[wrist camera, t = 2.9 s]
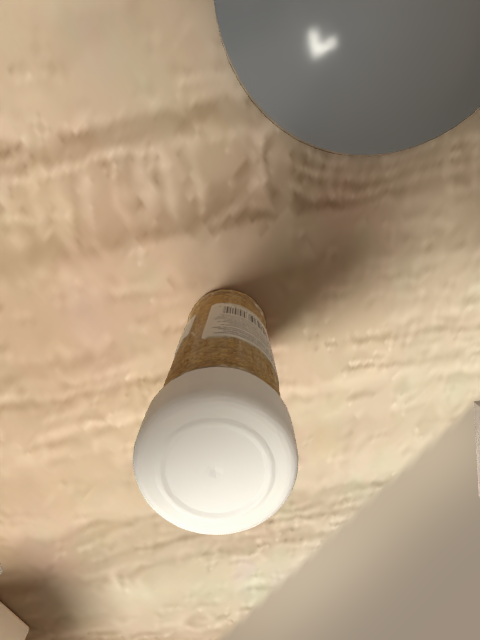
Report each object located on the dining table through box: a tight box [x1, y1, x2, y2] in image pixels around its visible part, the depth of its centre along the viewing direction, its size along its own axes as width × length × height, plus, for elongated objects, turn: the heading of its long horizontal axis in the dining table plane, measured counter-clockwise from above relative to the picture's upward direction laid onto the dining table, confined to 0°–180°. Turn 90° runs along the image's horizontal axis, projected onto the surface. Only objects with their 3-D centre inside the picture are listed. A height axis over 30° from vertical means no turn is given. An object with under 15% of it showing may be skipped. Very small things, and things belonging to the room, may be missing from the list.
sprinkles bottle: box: [133, 290, 298, 535], centre depth 17 cm, size 5×5×14 cm
